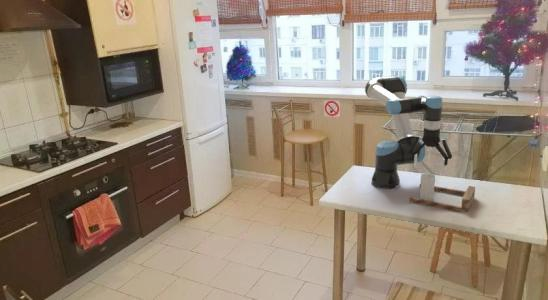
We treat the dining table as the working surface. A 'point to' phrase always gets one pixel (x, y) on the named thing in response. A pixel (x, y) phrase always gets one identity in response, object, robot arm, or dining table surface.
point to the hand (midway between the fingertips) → (429, 169)
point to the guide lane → (440, 205)
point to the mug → (427, 186)
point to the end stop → (468, 198)
